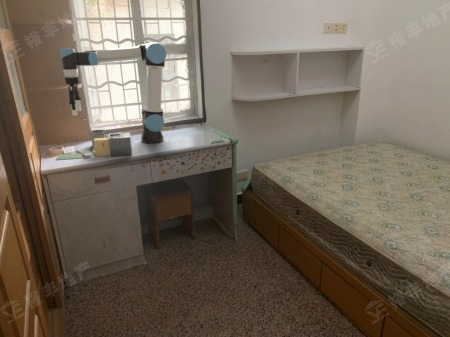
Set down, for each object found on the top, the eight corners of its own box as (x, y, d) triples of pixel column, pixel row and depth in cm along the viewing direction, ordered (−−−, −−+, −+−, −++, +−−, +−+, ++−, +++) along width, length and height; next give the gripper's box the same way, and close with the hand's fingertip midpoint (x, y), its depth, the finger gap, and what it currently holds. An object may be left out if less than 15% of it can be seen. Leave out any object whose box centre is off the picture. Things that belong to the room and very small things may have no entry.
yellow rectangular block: (118, 152, 222) (116, 137, 218) (118, 155, 217) (116, 139, 214) (96, 154, 219) (94, 138, 215) (95, 156, 214) (93, 140, 211)
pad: (83, 153, 219) (83, 153, 219) (81, 158, 211) (81, 157, 211) (58, 155, 216) (58, 154, 216) (55, 160, 208) (55, 159, 207)
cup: (91, 148, 230) (89, 133, 227) (93, 144, 238) (91, 129, 234) (105, 147, 232) (103, 132, 228) (106, 143, 239) (104, 129, 236)
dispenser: (131, 149, 227) (130, 132, 223) (131, 155, 216) (129, 137, 212) (111, 151, 224) (109, 133, 220) (110, 157, 213) (107, 138, 209)
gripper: (68, 74, 216) (74, 109, 224) (60, 79, 193) (66, 117, 201) (81, 74, 218) (86, 108, 225) (74, 78, 195) (80, 117, 202)
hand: (77, 113), depth 213 cm, fingers open, 13 cm apart
